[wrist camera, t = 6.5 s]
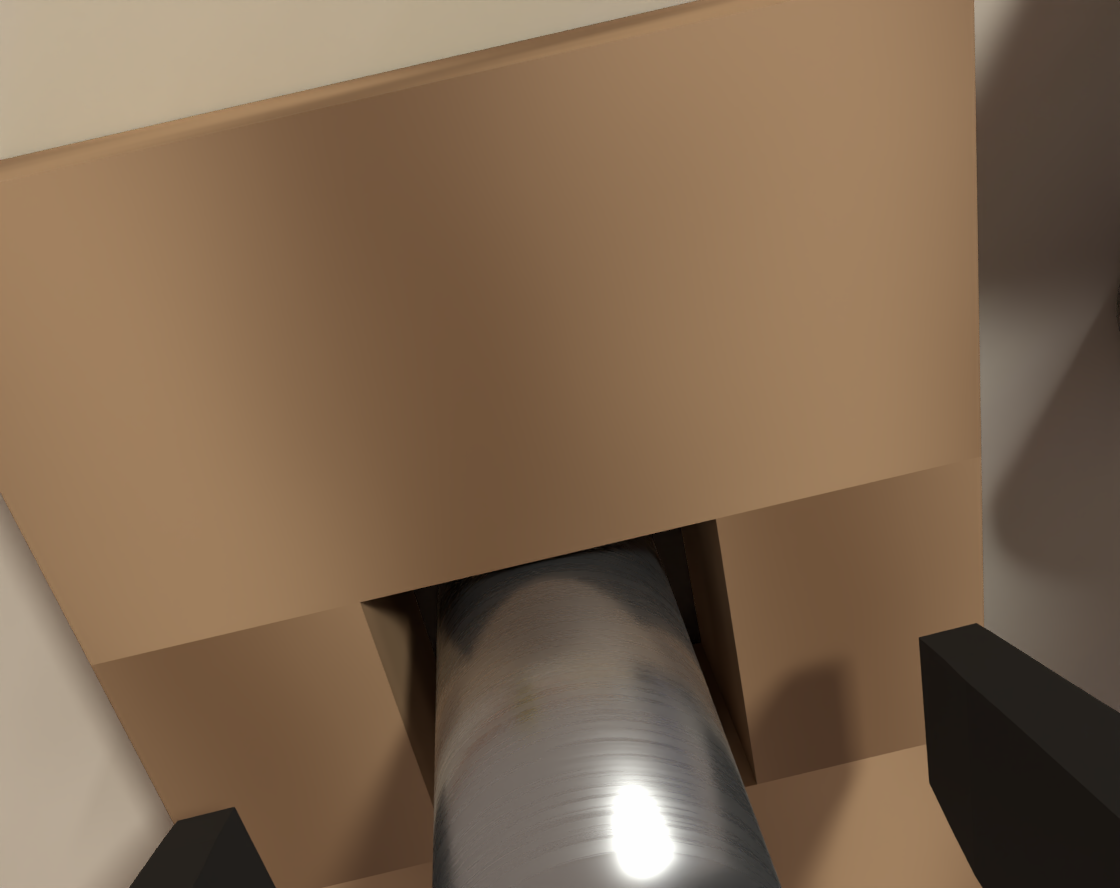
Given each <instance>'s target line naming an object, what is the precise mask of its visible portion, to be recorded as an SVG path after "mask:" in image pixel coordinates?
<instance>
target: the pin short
mask: <svg viewBox="0 0 1120 888" xmlns="http://www.w3.org/2000/svg"><path fill="white" fill-rule="evenodd" d="M1117 321H1118V327H1119V331H1120V285H1119V289H1118V297H1117Z"/></svg>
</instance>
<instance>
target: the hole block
mask: <svg viewBox="0 0 1120 888" xmlns="http://www.w3.org/2000/svg"><path fill="white" fill-rule="evenodd" d="M0 493H1V495H2V496H3V498H4V500H5V502H6V504H7V506H8V508H9V510H10V512H11V514H12V516H13V517H14V519H15V521H16V523H17V525H18V527H19V529H20V531H21V533H22V535H23V537H24V538H25V540H26V542H27V544H28V546H29V548H30V550H31V552H32V554H33V556H34V558H35V559H36V561H37V563H38V565H39V567H40V569H41V571H42V573H43V575H44V577H45V579H46V580H47V582H48V584H49V586H50V588H51V590H52V592H53V594H54V596H55V598H56V600H57V601H58V603H59V605H60V607H61V609H62V611H63V613H64V615H65V617H66V619H67V621H68V623H69V624H70V626H71V628H72V630H73V632H74V634H75V636H76V638H77V640H78V642H79V644H80V645H81V647H82V649H83V651H84V653H85V655H86V657H87V659H88V661H89V663H90V665H91V666H92V668H93V670H94V672H95V674H96V676H97V678H98V680H99V682H100V684H101V686H102V687H103V689H104V691H105V693H106V695H107V697H108V699H109V701H110V703H111V705H112V707H113V708H114V710H115V712H116V714H117V716H118V718H119V720H120V722H121V724H122V726H123V728H124V729H125V731H126V733H127V735H128V737H129V739H130V741H131V743H132V745H133V747H134V749H135V750H136V752H137V754H138V756H139V758H140V760H141V762H142V764H143V766H144V768H145V770H146V771H147V773H148V775H149V777H150V779H151V781H152V783H153V785H154V787H155V789H156V791H157V792H158V794H159V796H160V798H161V800H162V802H163V804H164V806H165V808H166V810H167V812H168V814H169V815H170V817H171V819H172V821H173V823H174V825H175V823H176V822H177V821H179V820H183V819H187V818H191V817H195V816H199V815H203V814H207V813H211V812H215V811H219V810H223V809H227V808H231V807H235V808H236V810H237V812H238V814H239V816H240V818H241V820H242V822H243V824H244V826H245V828H246V830H247V832H248V834H249V836H250V838H251V840H252V842H253V844H254V846H255V848H256V849H257V851H258V853H259V855H260V857H261V859H262V861H263V863H264V865H265V867H266V869H267V871H268V873H269V875H270V877H271V879H272V881H273V883H274V885H275V887H276V888H432V876H433V823H434V771H435V718H436V665H437V661H436V658H435V655H434V652H433V649H432V646H431V643H430V640H429V637H428V634H427V630H426V627H425V624H424V621H423V618H422V615H421V612H420V609H419V606H418V603H417V600H416V597H415V594H414V591H413V590H415V589H419V588H423V587H427V586H432V585H436V584H440V583H445V582H449V581H453V580H457V579H462V578H466V577H470V576H474V575H479V574H483V573H487V572H491V571H496V570H500V569H504V568H508V567H513V566H517V565H521V564H525V563H530V562H534V561H538V560H542V559H547V558H551V557H555V556H560V555H564V554H568V553H572V552H577V551H581V550H585V549H589V548H594V547H598V546H602V545H606V544H611V543H615V542H619V541H623V540H628V539H632V538H636V537H640V536H645V535H649V534H653V533H657V532H662V531H666V530H670V529H675V528H679V527H681V530H682V535H683V541H684V547H685V553H686V558H687V564H688V570H689V575H690V581H691V587H692V593H693V598H694V604H695V610H696V616H697V621H698V627H699V633H700V638H701V643H697V644H693V645H692V646H693V649H694V652H695V654H696V657H697V660H698V662H699V665H700V668H701V670H702V673H703V676H704V679H705V681H706V684H707V687H708V689H709V692H710V695H711V698H712V700H713V703H714V706H715V708H716V711H717V714H718V716H719V719H720V722H721V725H722V727H723V730H724V733H725V735H726V738H727V741H728V744H729V746H730V749H731V752H732V754H733V757H734V760H735V762H736V765H737V768H738V771H739V773H740V776H741V779H742V781H743V784H744V787H745V790H746V792H747V795H748V798H749V800H750V803H751V806H752V808H753V811H754V814H755V817H756V819H757V822H758V825H759V827H760V830H761V833H762V836H763V838H764V841H765V844H766V846H767V849H768V852H769V854H770V857H771V860H772V863H773V865H774V868H775V871H776V873H777V876H778V879H779V881H780V884H781V887H782V888H982V886H981V885H980V883H979V882H978V880H977V878H976V877H975V875H974V873H973V871H972V869H971V867H970V865H969V863H968V861H967V859H966V857H965V855H964V853H963V851H962V849H961V847H960V845H959V843H958V841H957V839H956V838H955V836H954V834H953V831H952V829H951V827H950V825H949V823H948V821H947V819H946V817H945V815H944V813H943V811H942V809H941V807H940V805H939V802H938V800H937V798H936V796H935V794H934V792H933V790H932V788H931V786H930V784H929V775H928V761H927V747H926V733H925V720H924V706H923V692H922V678H921V664H920V650H919V637H922V636H926V635H930V634H934V633H938V632H942V631H946V630H950V629H954V628H958V627H962V626H966V625H970V624H974V623H978V624H979V625H981V626H982V627H984V601H983V538H982V475H981V411H980V348H979V285H978V222H977V159H976V96H975V33H974V0H698V1H694V2H689V3H685V4H680V5H676V6H672V7H667V8H663V9H659V10H654V11H650V12H646V13H641V14H637V15H632V16H628V17H624V18H619V19H615V20H611V21H606V22H602V23H598V24H593V25H589V26H584V27H580V28H576V29H571V30H567V31H563V32H558V33H554V34H550V35H545V36H541V37H536V38H532V39H528V40H523V41H519V42H515V43H510V44H506V45H501V46H497V47H493V48H488V49H484V50H480V51H475V52H471V53H467V54H462V55H458V56H453V57H449V58H445V59H440V60H436V61H432V62H427V63H423V64H419V65H414V66H410V67H405V68H401V69H397V70H392V71H388V72H384V73H379V74H375V75H371V76H366V77H362V78H357V79H353V80H349V81H344V82H340V83H336V84H331V85H327V86H323V87H318V88H314V89H309V90H305V91H301V92H296V93H292V94H288V95H283V96H279V97H274V98H270V99H266V100H261V101H257V102H253V103H248V104H244V105H240V106H235V107H231V108H226V109H222V110H218V111H213V112H209V113H205V114H200V115H196V116H192V117H187V118H183V119H178V120H174V121H170V122H165V123H161V124H157V125H152V126H148V127H144V128H139V129H135V130H130V131H126V132H122V133H117V134H113V135H109V136H104V137H100V138H95V139H91V140H87V141H82V142H78V143H74V144H69V145H65V146H61V147H56V148H52V149H47V150H43V151H39V152H34V153H30V154H26V155H21V156H17V157H13V158H8V159H4V160H0Z"/></svg>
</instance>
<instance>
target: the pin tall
mask: <svg viewBox="0 0 1120 888" xmlns="http://www.w3.org/2000/svg"><path fill="white" fill-rule="evenodd" d="M432 888H782V887H781V884H780V881H779V879H778V876H777V873H776V871H775V868H774V865H773V863H772V860H771V857H770V854H769V852H768V849H767V846H766V844H765V841H764V838H763V836H762V833H761V830H760V827H759V825H758V822H757V819H756V817H755V814H754V811H753V808H752V806H751V803H750V800H749V798H748V795H747V792H746V790H745V787H744V784H743V781H742V779H741V776H740V773H739V771H738V768H737V765H736V762H735V760H734V757H733V754H732V752H731V749H730V746H729V744H728V741H727V738H726V735H725V733H724V730H723V727H722V725H721V722H720V719H719V716H718V714H717V711H716V708H715V706H714V703H713V700H712V698H711V695H710V692H709V689H708V687H707V684H706V681H705V679H704V676H703V673H702V670H701V668H700V665H699V662H698V660H697V657H696V654H695V652H694V649H693V646H692V643H691V641H690V638H689V635H688V633H687V630H686V627H685V624H684V622H683V619H682V616H681V614H680V611H679V608H678V606H677V603H676V600H675V597H674V595H673V592H672V589H671V587H670V584H669V581H668V578H667V576H666V573H665V570H664V568H663V565H662V562H661V560H660V557H659V554H658V551H657V549H656V546H655V543H654V541H653V538H652V535H651V534H649V535H645V536H640V537H636V538H632V539H628V540H623V541H619V542H615V543H611V544H606V545H602V546H598V547H594V548H589V549H585V550H581V551H577V552H572V553H568V554H564V555H560V556H555V557H551V558H547V559H542V560H538V561H534V562H530V563H525V564H521V565H517V566H513V567H508V568H504V569H500V570H496V571H491V572H487V573H483V574H479V575H474V576H470V577H466V578H462V579H457V580H453V581H449V582H445V583H440V584H438V613H437V665H436V718H435V771H434V823H433V876H432Z"/></svg>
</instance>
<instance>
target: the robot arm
mask: <svg viewBox="0 0 1120 888" xmlns="http://www.w3.org/2000/svg"><path fill="white" fill-rule="evenodd" d="M919 650H920V664H921V678H922V692H923V706H924V720H925V733H926V747H927V761H928V775H929V784H930V786H931V788H932V790H933V792H934V794H935V796H936V798H937V800H938V802H939V805H940V807H941V809H942V811H943V813H944V815H945V817H946V819H947V821H948V823H949V825H950V827H951V829H952V831H953V834H954V836H955V838H956V839H957V841H958V843H959V845H960V847H961V849H962V851H963V853H964V855H965V857H966V859H967V861H968V863H969V865H970V867H971V869H972V871H973V873H974V875H975V877H976V878H977V880H978V882H979V883H980V885H981V886H982V888H1120V713H1119V712H1117V711H1115V710H1114V709H1112V708H1110V707H1109V706H1107V705H1106V704H1104V703H1102V702H1101V701H1099V700H1098V699H1096V698H1094V697H1093V696H1091V695H1090V694H1088V693H1086V692H1085V691H1083V690H1082V689H1080V688H1079V687H1077V686H1075V685H1074V684H1072V683H1071V682H1069V681H1067V680H1066V679H1064V678H1063V677H1061V676H1060V675H1058V674H1056V673H1055V672H1053V671H1052V670H1050V669H1049V668H1047V667H1045V666H1044V665H1042V664H1041V663H1039V662H1038V661H1036V660H1034V659H1033V658H1031V657H1030V656H1028V655H1027V654H1025V653H1023V652H1022V651H1020V650H1019V649H1017V648H1016V647H1014V646H1012V645H1011V644H1009V643H1008V642H1006V641H1005V640H1003V639H1001V638H1000V637H998V636H997V635H995V634H993V633H992V632H990V631H989V630H987V629H986V628H984V627H982V626H981V625H979V624H978V623H974V624H970V625H966V626H962V627H958V628H954V629H950V630H946V631H942V632H938V633H934V634H930V635H926V636H922V637H919ZM129 888H276V887H275V885H274V883H273V881H272V879H271V877H270V875H269V873H268V871H267V869H266V867H265V865H264V863H263V861H262V859H261V857H260V855H259V853H258V851H257V849H256V848H255V846H254V844H253V842H252V840H251V838H250V836H249V834H248V832H247V830H246V828H245V826H244V824H243V822H242V820H241V818H240V816H239V814H238V812H237V810H236V808H235V807H231V808H227V809H223V810H219V811H215V812H211V813H207V814H203V815H199V816H195V817H191V818H187V819H183V820H179V821H177V822H176V823H175V825H174V826H173V827H172V829H171V830H170V831H169V833H168V834H167V835H166V837H165V838H164V839H163V841H162V842H161V843H160V845H159V846H158V848H157V849H156V850H155V852H154V853H153V855H152V856H151V858H150V859H149V860H148V862H147V863H146V865H145V866H144V867H143V869H142V870H141V872H140V873H139V875H138V876H137V877H136V879H135V880H134V882H133V883H132V885H131V886H130V887H129Z"/></svg>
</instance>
